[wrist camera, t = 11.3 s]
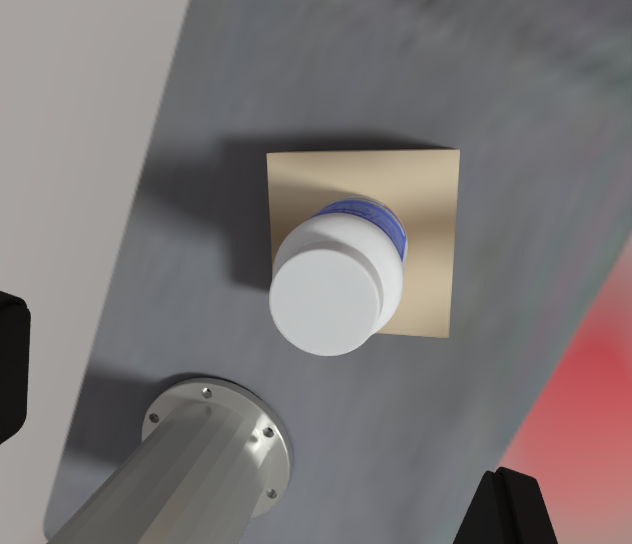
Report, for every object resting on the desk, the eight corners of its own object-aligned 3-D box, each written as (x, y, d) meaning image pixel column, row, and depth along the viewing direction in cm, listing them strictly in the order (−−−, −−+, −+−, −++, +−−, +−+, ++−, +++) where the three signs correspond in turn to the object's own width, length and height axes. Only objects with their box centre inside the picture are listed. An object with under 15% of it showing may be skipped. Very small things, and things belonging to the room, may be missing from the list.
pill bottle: (304, 199, 25) (235, 231, 16) (406, 189, 24) (393, 219, 15) (316, 294, 26) (257, 374, 17) (412, 290, 25) (404, 375, 16)
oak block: (445, 307, 30) (448, 337, 25) (297, 298, 32) (275, 325, 27) (454, 148, 27) (459, 149, 23) (292, 151, 29) (266, 153, 25)
